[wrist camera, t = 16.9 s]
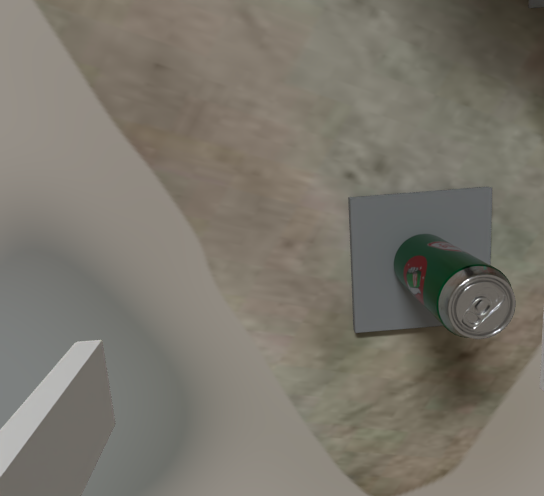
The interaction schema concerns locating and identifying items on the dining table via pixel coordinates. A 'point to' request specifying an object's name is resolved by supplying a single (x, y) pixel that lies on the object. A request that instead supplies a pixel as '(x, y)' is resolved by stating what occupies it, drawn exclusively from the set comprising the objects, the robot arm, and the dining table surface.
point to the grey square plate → (390, 236)
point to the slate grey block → (536, 3)
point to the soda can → (455, 286)
